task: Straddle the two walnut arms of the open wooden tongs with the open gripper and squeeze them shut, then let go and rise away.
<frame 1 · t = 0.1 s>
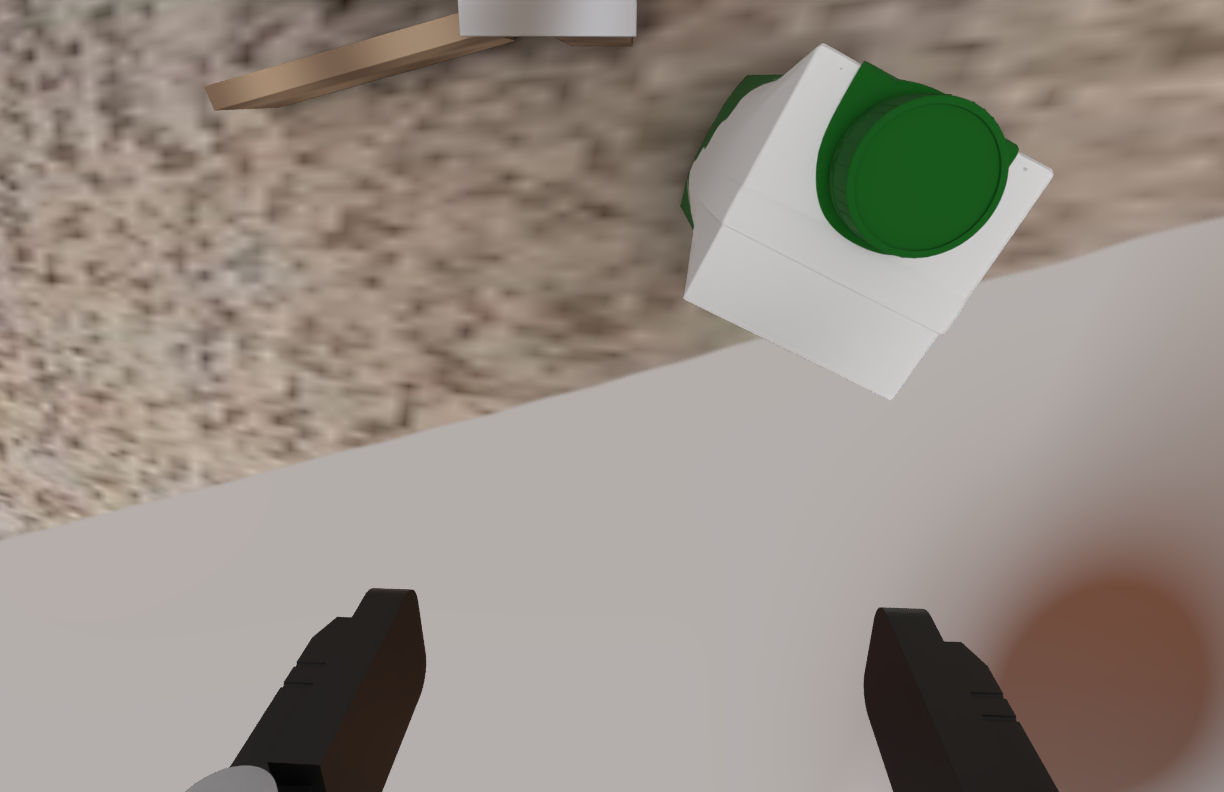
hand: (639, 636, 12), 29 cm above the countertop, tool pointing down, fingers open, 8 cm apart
tong arm: (388, 35, 32), point 3 cm above the countertop, hinge at 14.0°
milk carton: (769, 174, 37), on the countertop
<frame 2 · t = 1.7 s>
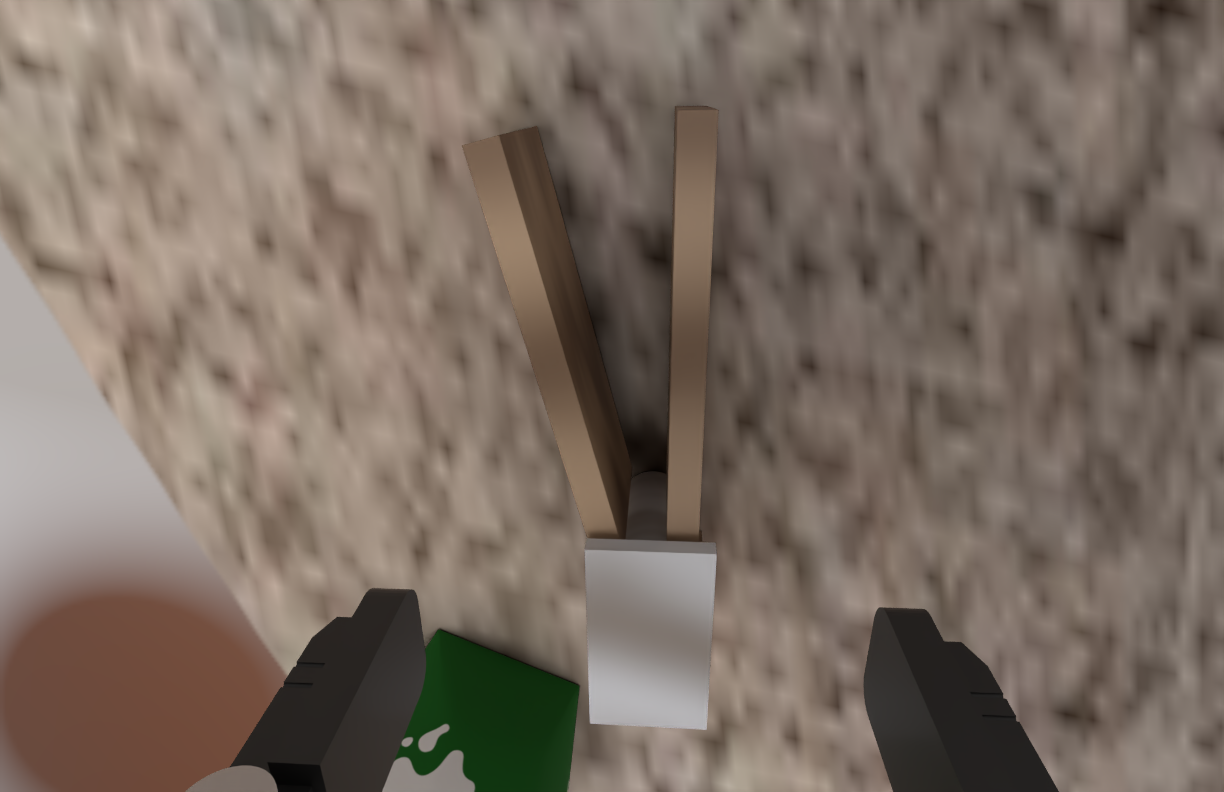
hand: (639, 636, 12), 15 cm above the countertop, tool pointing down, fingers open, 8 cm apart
tong arm: (601, 373, 23), point 3 cm above the countertop, hinge at 14.0°
milk carton: (484, 701, 34), on the countertop
tong frame: (653, 493, 29), on the countertop
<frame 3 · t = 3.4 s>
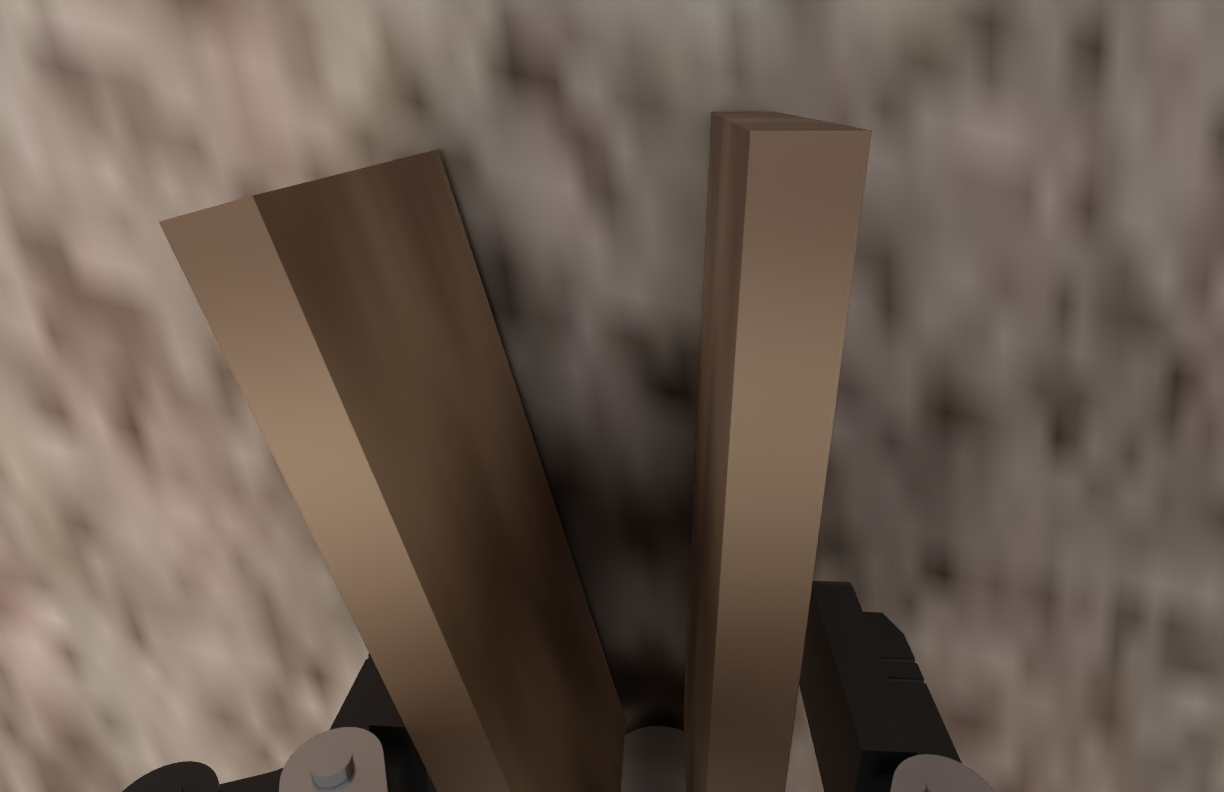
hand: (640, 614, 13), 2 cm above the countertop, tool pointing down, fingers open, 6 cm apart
tong arm: (563, 632, 12), point 3 cm above the countertop, hinge at 14.0°, touching gripper
tong frame: (661, 752, 17), on the countertop
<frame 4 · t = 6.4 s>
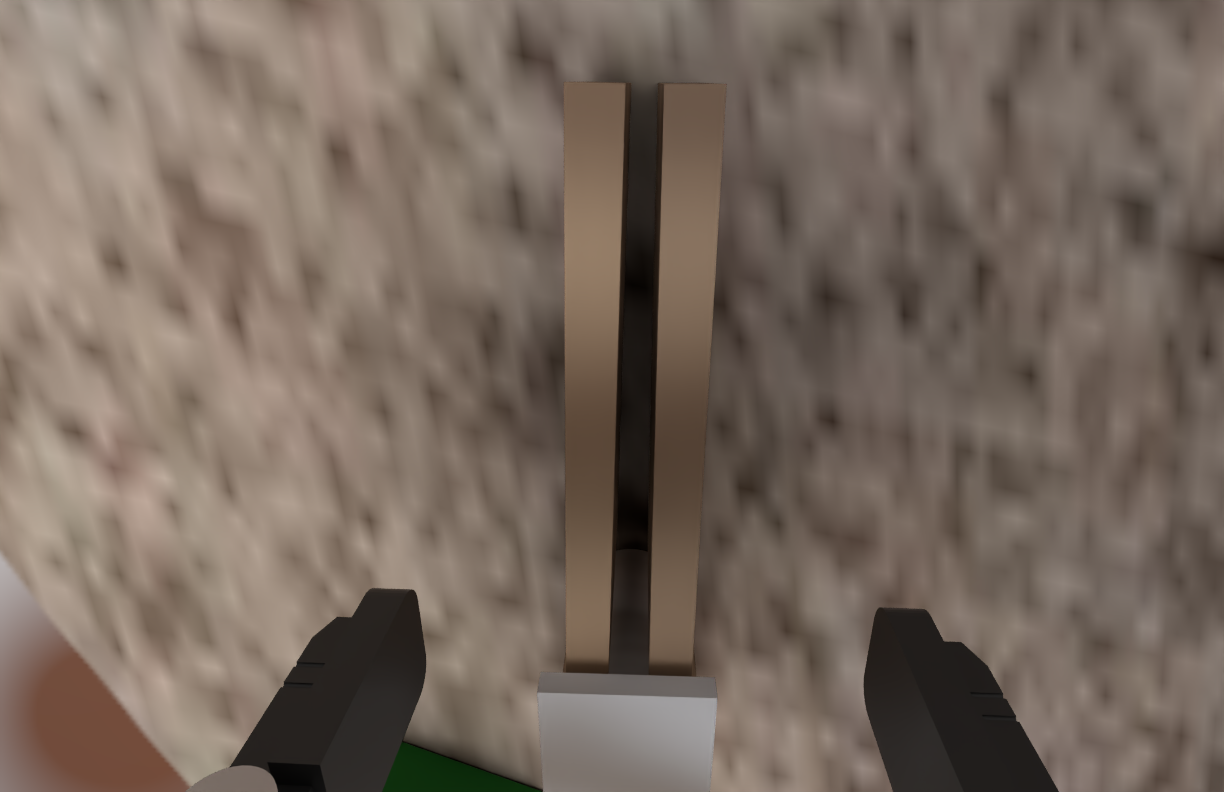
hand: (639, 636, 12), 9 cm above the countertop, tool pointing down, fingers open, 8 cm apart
tong arm: (632, 435, 17), point 3 cm above the countertop, hinge at -1.5°
tong frame: (631, 573, 23), on the countertop
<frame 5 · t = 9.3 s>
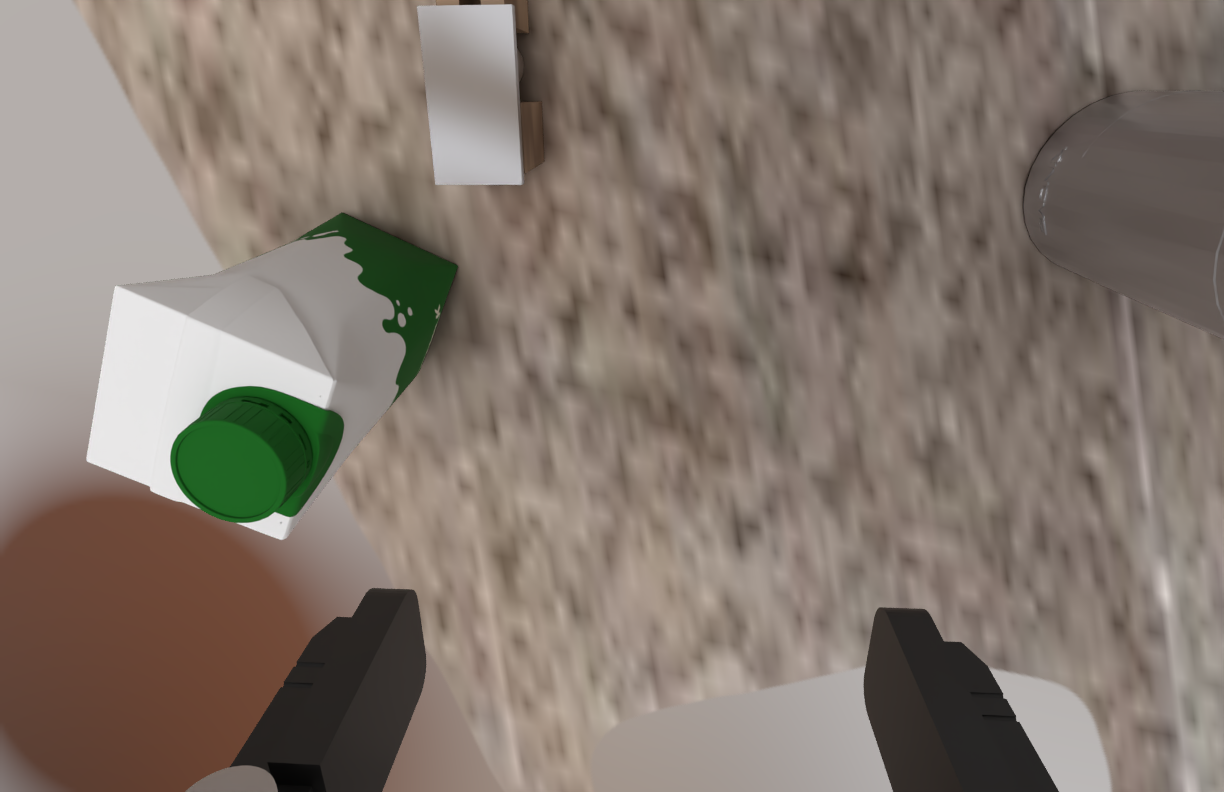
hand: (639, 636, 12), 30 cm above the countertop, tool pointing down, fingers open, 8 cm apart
milk carton: (383, 290, 42), on the countertop
tong frame: (501, 66, 36), on the countertop
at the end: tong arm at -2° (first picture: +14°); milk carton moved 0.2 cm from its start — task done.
